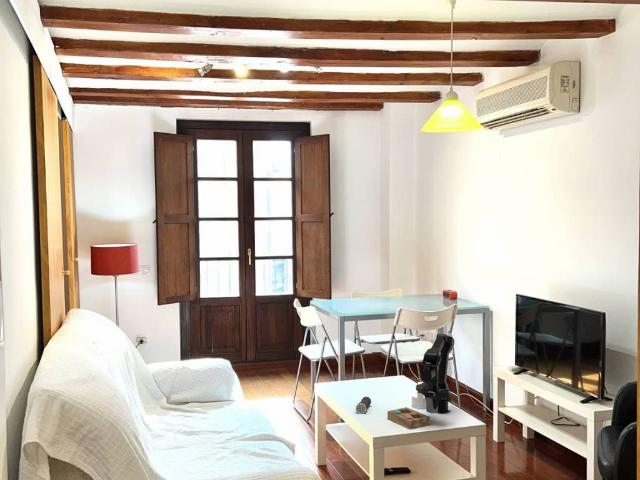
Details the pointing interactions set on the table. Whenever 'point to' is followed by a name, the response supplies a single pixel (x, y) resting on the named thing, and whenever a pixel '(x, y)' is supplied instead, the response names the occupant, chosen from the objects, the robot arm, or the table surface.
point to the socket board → (408, 418)
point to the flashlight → (363, 405)
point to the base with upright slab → (418, 400)
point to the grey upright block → (430, 405)
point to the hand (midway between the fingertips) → (432, 408)
